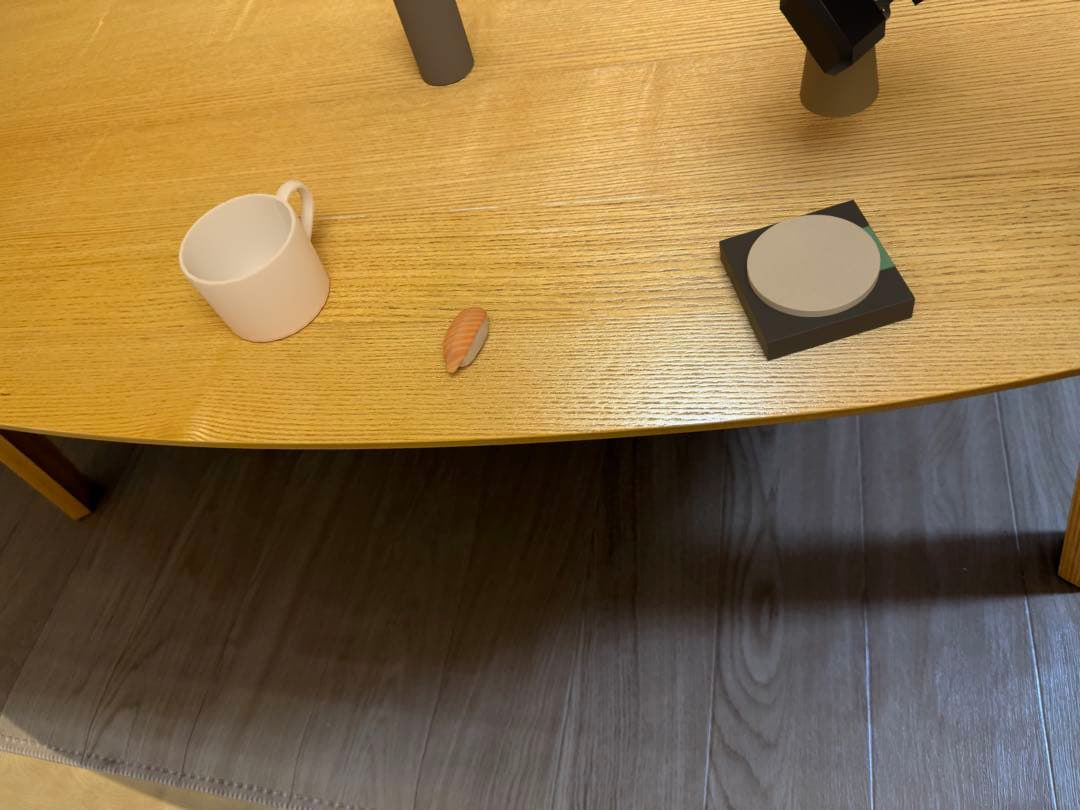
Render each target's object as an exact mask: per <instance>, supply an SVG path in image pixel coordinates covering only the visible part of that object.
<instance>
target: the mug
mask: <svg viewBox="0 0 1080 810" xmlns="http://www.w3.org/2000/svg"><path fill="white" fill-rule="evenodd" d="M295 191H297V193H298V194H299V198H300V218H299V216H298V213H297V211H296V210H295V209H294V207H293V206H292V205H291V204H290V202H289V200H290V197H291V196H292V194H293V192H295ZM314 215H315V202H314V197H313V195H312V191H311V189H310V188H309V187H308V186H307V185H306V184H305V183H304V182H302V181H301V180H299V179H292V180H291V179H290V180H287V181H285V182H284V183H283V184H281V185H280V186H279V188H278V189H277V191H276V192H275V195H274V194H269V193H264V192H262V193H248V194H244V195H239V196H236V197H233V198H231V199H228V200H225V201H224V202H223V201H222V202H221V203H219V204H217V205H216V206H214V207H213V208H211V209H210V210H207V211H206V212H205V213H204V214H203V215H201V217H199V219H197V220H196V221H195V222H194V223H193V225H192V226H191V227H190V228H189V230H188V231H187V232H186V233H185V235H184V237H183V239H182V241H181V243H180V247H179V251H178V262H179V268H180V271H181V272H182V273H183V275H184V276H185V278H186V279H187V280H188V281H189V283H190V284H191V285H192V286H193V287H194V288H195V290H196V291H197V292H198V293H199V294H200V295H201V297H202V298H203V299H204V300H205V301H206V302H207V304H209V306H210V307H211V308H212V310H214V312H215V313H216V314H217V315H218V316H219V318H220V319H221V320H222V321H223V322H224V324H226V326H227V328H229V329H230V330H231V332H232V333H233V334H234V335H236V336H238V338H240V339H242V340H244V341H245V340H246V341H248V342H253V343H270V342H274V341H279V340H283V339H286V338H288V337H290V336H292V335H294V334H296V333H298V332H299V331H301V330H302V329H304V328H305V327H307V326H308V325H309V324H310V323H311V322H312V321H313V320H314V319H315V318H316V317H317V316H319V314H320V312H321V311H322V309H323V308H324V306H325V305H326V302H327V299H328V297H329V294H330V286H331V285H330V284H331V281H330V279H329V275H328V272H327V271H326V269H325V266H324V265H323V262H322V261H321V258H320V256H319V255H318V253H317V251H316V249H315V247H314V245H313V243H312V241H311V240H312V234H313V225H314V224H313V223H314V217H315V216H314Z"/></svg>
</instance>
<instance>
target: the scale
mask: <svg viewBox="0 0 1080 810" xmlns="http://www.w3.org/2000/svg"><path fill="white" fill-rule="evenodd" d="M718 245H719V258H720V262H721V264H722V266H723V268H724V270H725V272H726V275H727V277H728V279H729V281H730V283H731V286H732V287H733V289H734V291H735V294H736V296H737V299H738V300H739V303H740V305H741V307H742V309H743V311H744V313H745V315H746V317H747V320H748V321H749V324H750V327H751V328H752V330H753V332H754V334H755V337H756V339H757V341H758V343H759V345H760V347H761V350H762V352H763V354H764V356H765V358H766V360H767V362H769V361H773V360H777V359H780V358H782V357H785V356H789V355H793V354H796V353H799V352H803V351H806V350H809V349H813V348H815V347H818V346H822V345H826V344H828V343H833V342H836V341H839V340H842V339H845V338H848V337H852V336H855V335H858V334H862V333H865V332H868V331H872V330H875V329H879V328H883V327H885V326H888V325H892V324H895V323H899V322H902V321H906V320H908V319H911V318H913V315H914V309H915V303H916V297H915V296H914V294H913V292H912V291H911V289H910V287H909V285H908V284H907V282H906V281H905V279H904V278H903V276H902V275H901V272H900V271H899V270H898V268H897V266H896V264H895V263H894V262H893V260H892V259H891V257H890V255H889V254H888V252H887V250H886V249H885V247H884V246H883V244H882V242H881V241H880V239H879V238H878V236H877V235H876V233H875V231H874V229H873V228H872V226H871V225H870V223H869V222H868V220H867V218H866V217H865V215H864V214H863V212H862V210H861V209H860V207H859V206H858V204H857V203H856V201H855V199H854V198H853V199H850V200H846V201H844V202H843V201H842V202H841V203H838V204H834V205H829V206H828V207H824V208H821V209H818V210H815V211H812V212H808V213H805V214H802V215H799V216H796V217H791V218H788V219H784V220H783V221H779V222H775V223H773V224H770V225H767V226H763V227H759V228H756V229H754V230H749V231H746V232H743V233H741V234H737V235H734V236H731V237H727V238H724V239H721V240H719V241H718Z"/></svg>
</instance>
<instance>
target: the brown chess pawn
mask: <svg viewBox="0 0 1080 810" xmlns="http://www.w3.org/2000/svg"><path fill="white" fill-rule="evenodd" d="M875 1H876V0H874V2H875ZM805 48H806V47H805ZM877 61H878V60H877V51H876V45H875V46H874V47H872V48H871V49H870V50H869V51H868V52H867V53H866V54H864V55H863V56H862V57H861V58H860V59H859V60H858V61H856V62H855V63H854V64H853V65H852V66H850V67H848V68H847V69H845V70H844V71H842V72H840V73H839V74H837V75H836V76H833V75H828V74H824V72H823V71H822V69H821V68H820V66H819V65H818V64H817V62H816V61H815V59H814V58H813V56H812V55H811V54H810V52H809V51H808V49H807V48H806V49H805V55H804V62H803V69H802V74H801V75H802V76H801V82H800V89H799V95H798V96H799V102H800V103H801V105H802V107H803V108H804V109H805V110H807V111H808V112H809V113H812V114H813V115H816V116H820V117H823V118H831V119H832V118H834V119H839V118H845V117H846V118H847V117H851V116H855V115H857V114H859V113H862V112H864V111H865V110H867V109H869V108H870V107H871V106H873V104H874V103H875V102H876V100H877V99H878V97H879V93H880V84H879V83H880V81H879V72H878V62H877Z"/></svg>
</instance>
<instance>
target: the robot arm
mask: <svg viewBox="0 0 1080 810" xmlns="http://www.w3.org/2000/svg"><path fill="white" fill-rule="evenodd" d="M894 1H895V0H876V1H875V2H874V0H779V7H778V10H779V11H780V12H781V14H782V15H783V17H784V18H785V20H786V21H787V22H788V24H789V25H790V27H791V28H792V29H793V31H794V32H795V34H796V35H797V36H798V38H799V40H800V41H801V42H802V44H803V45H804V46H805V48H807V49H808V51H809V52H810V54H811V55H812V56H813V58H814V59H815V61H816V62H817V64H818V65H819V66H820V68H821V69H822V71H823V72H824V74H828V75H833V76H836V75H837V74H839V73H840V72H842V71H844V70H845V69H847V68H848V67H850V66H852V65H853V64H854V63H855V62H856V61H858V60H859V59H860V58H861V57H862V56H863V55H864V54H866V53H867V52H868V51H869V50H870V49H871V48H872V47H874V46H875V47H876V45H877V44H878V43H879V42H881V41H882V40H883V39H884V38H885V37H886V28H887V27H886V25H887V21H888V20H889V19H890V18H891V14H892V10H891V4H892V3H893V2H894ZM923 1H925V0H911V2H912V3H913V5H914V6H915V7H916V6H918V5H919V4H921V3H922V2H923Z"/></svg>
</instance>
